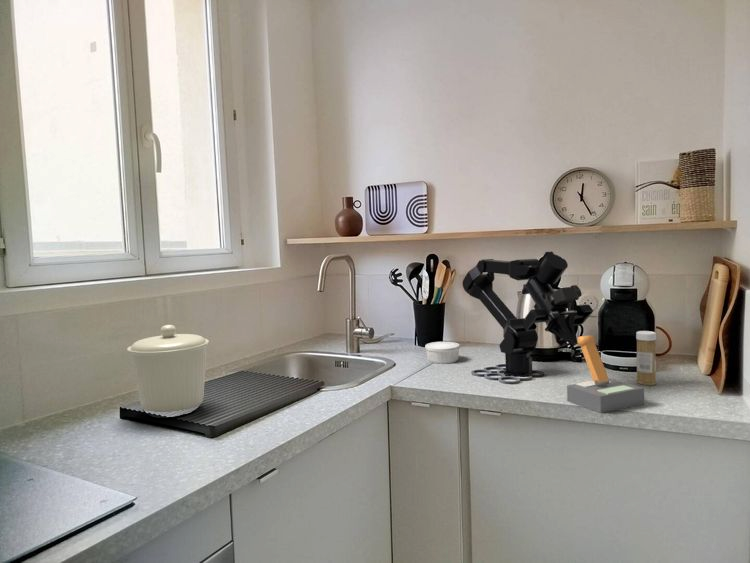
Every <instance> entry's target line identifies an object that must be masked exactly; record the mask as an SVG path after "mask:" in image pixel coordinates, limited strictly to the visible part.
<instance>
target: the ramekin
mask: <svg viewBox="0 0 750 563" xmlns="http://www.w3.org/2000/svg"><path fill="white" fill-rule="evenodd" d="M424 347H425V350H426V351H425V352H426V355H427V359H428V362H431V363H433V364H439V365H441V364H453V363H456V362H457V361H458V360H459V354H460V348H461V345H460V343H457V342H453V341H434V342H433V341H432V342H429V343H426V344H425V346H424Z"/></svg>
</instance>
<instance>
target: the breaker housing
mask: <svg viewBox="0 0 750 563" xmlns="http://www.w3.org/2000/svg"><path fill="white" fill-rule="evenodd" d="M608 378H609V377H608ZM566 401H567V402H569V403H571V404H573V405H577V406H580V407H583V408H585V409H589V410H591V411H593V412H597V413H599V414H603V413H607V412H612V411H617V410H622V409H628V408H632V407H631V406H633V407H637V406H642V405H645V388H644V387H641V386H638V385H633V384H630V383H627V382H624V381H619V380H616V379H613V378H609V384H606V385H600V386H596V385H595V383H594V381H593V380H587V381H583V382H577V383H573V384H568V385H566ZM641 404H642V405H641ZM636 405H637V406H636ZM627 407H628V408H627Z"/></svg>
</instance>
